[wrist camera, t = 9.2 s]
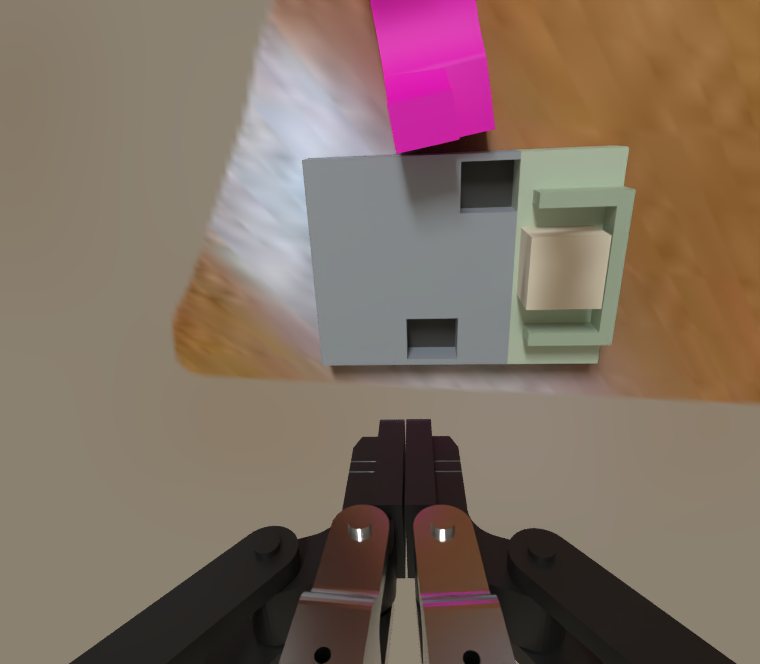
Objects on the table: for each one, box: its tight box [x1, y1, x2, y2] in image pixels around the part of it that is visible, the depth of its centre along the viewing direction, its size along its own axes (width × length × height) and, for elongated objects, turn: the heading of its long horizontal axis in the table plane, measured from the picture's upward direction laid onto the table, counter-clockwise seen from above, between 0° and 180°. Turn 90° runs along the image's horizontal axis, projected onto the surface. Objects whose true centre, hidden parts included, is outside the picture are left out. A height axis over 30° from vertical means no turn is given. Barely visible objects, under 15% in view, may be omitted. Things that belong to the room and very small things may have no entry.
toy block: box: [370, 0, 495, 154], centre depth 29 cm, size 15×6×8 cm, turn 12°
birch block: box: [517, 225, 612, 310], centre depth 34 cm, size 5×5×4 cm
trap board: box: [302, 145, 635, 366], centre depth 36 cm, size 22×16×4 cm
